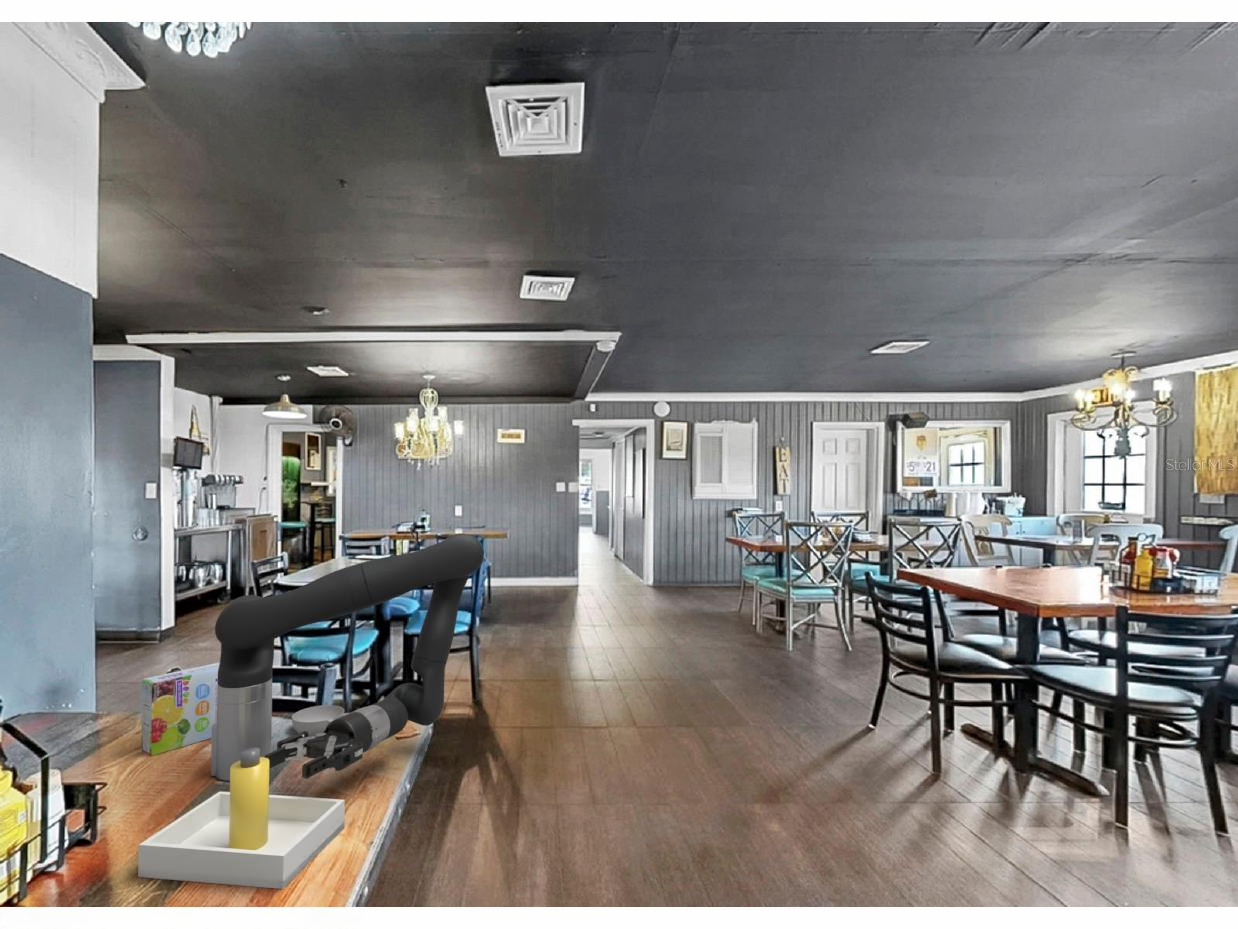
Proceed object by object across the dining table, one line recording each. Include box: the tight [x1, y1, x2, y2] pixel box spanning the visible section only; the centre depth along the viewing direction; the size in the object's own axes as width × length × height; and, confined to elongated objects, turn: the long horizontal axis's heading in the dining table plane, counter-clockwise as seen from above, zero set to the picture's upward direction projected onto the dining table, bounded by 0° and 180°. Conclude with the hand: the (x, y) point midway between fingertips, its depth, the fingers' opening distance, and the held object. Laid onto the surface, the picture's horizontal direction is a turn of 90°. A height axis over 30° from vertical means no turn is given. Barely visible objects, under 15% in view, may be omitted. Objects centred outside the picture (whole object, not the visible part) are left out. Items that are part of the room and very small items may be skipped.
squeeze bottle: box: [229, 748, 270, 850], centre depth 101 cm, size 5×5×14 cm
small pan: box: [291, 704, 345, 737], centre depth 147 cm, size 11×18×4 cm, turn 50°
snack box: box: [141, 661, 220, 756], centre depth 144 cm, size 21×6×15 cm, turn 144°
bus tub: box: [137, 791, 346, 890], centre depth 100 cm, size 22×16×4 cm
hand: (284, 767), depth 106 cm, fingers open, 8 cm apart
